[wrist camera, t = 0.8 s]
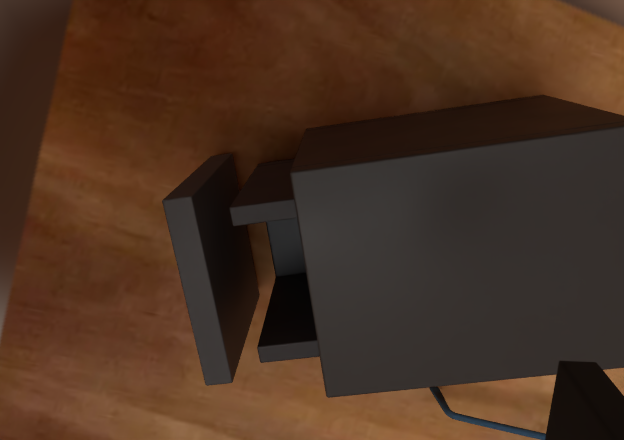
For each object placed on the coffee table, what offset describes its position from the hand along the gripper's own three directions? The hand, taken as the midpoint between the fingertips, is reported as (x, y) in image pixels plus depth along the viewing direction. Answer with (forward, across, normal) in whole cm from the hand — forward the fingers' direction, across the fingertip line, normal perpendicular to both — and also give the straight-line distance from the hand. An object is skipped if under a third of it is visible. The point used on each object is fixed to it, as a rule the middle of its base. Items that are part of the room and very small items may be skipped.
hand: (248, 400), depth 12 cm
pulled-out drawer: (+19, +1, -2) cm, 19 cm away
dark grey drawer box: (+20, +7, -1) cm, 21 cm away
